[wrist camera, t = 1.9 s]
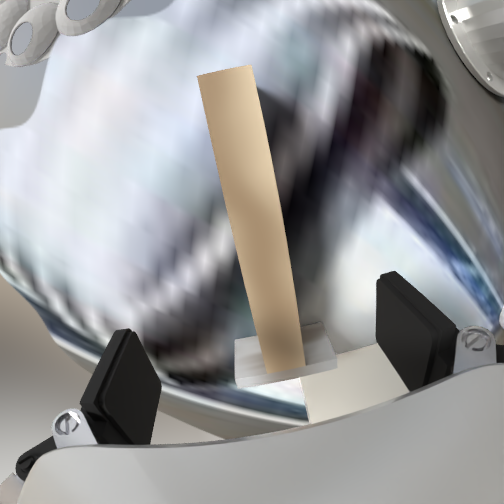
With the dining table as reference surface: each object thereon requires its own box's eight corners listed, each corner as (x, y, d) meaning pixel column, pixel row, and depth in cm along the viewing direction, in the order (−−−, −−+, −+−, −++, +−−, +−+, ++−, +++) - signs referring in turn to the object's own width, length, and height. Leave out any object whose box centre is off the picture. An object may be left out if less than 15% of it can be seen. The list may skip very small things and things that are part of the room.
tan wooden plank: (282, 76, 16) (296, 58, 12) (322, 331, 23) (337, 368, 19) (172, 100, 16) (153, 88, 12) (237, 348, 23) (238, 388, 19)
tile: (401, 335, 24) (453, 412, 14) (398, 352, 25) (445, 428, 15) (296, 363, 24) (320, 461, 15) (299, 380, 25) (321, 473, 16)
